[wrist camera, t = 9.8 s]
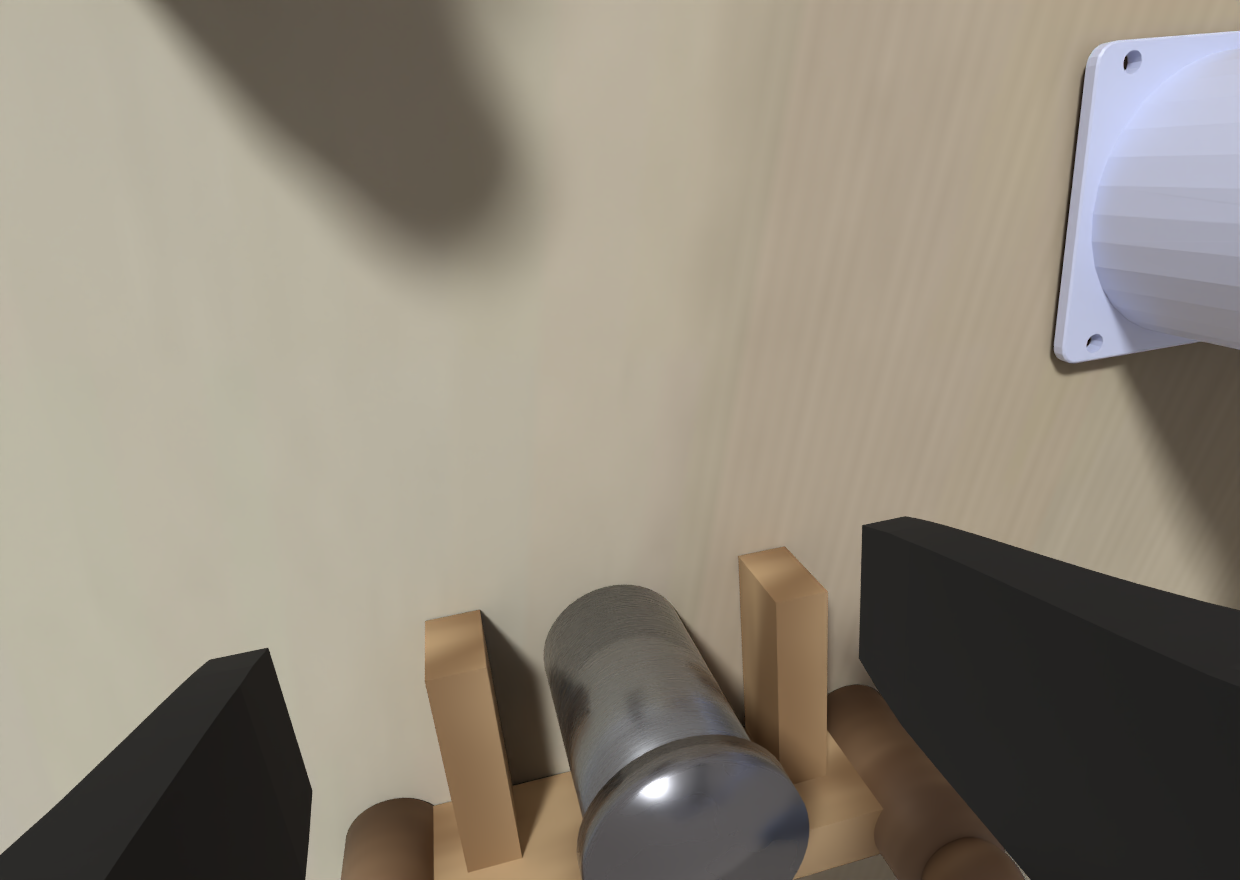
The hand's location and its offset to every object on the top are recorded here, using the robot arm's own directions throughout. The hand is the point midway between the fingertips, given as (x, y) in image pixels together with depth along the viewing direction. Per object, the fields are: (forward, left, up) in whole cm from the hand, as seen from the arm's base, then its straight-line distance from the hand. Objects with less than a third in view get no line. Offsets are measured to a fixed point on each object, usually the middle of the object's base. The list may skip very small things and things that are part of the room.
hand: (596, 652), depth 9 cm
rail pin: (-2, +7, -10) cm, 12 cm away
